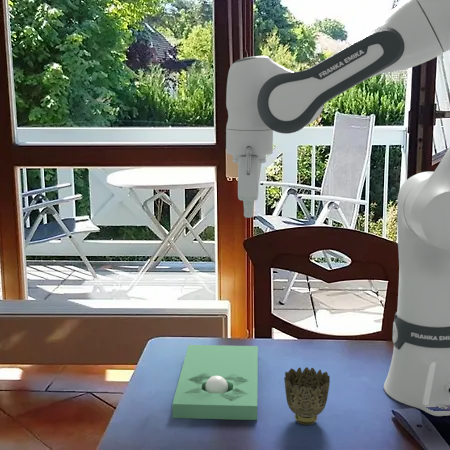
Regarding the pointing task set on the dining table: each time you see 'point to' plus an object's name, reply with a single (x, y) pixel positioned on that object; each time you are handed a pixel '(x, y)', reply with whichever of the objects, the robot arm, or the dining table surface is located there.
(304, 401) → the cup
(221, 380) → the ball
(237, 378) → the putting mat
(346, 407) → the dining table surface
